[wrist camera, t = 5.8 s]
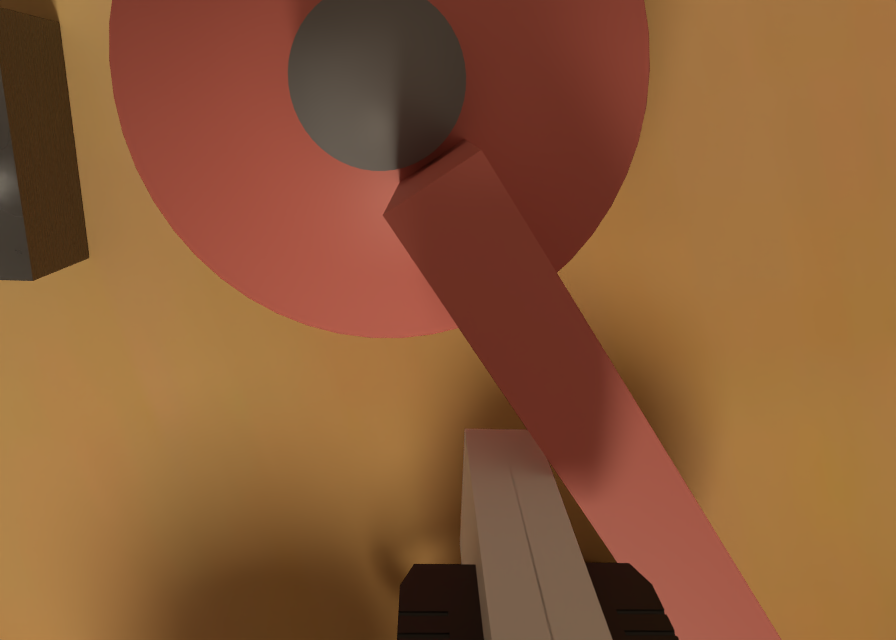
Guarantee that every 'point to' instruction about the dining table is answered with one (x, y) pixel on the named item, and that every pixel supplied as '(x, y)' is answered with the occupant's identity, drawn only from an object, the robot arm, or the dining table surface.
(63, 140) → the collar
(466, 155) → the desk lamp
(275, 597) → the dining table surface
